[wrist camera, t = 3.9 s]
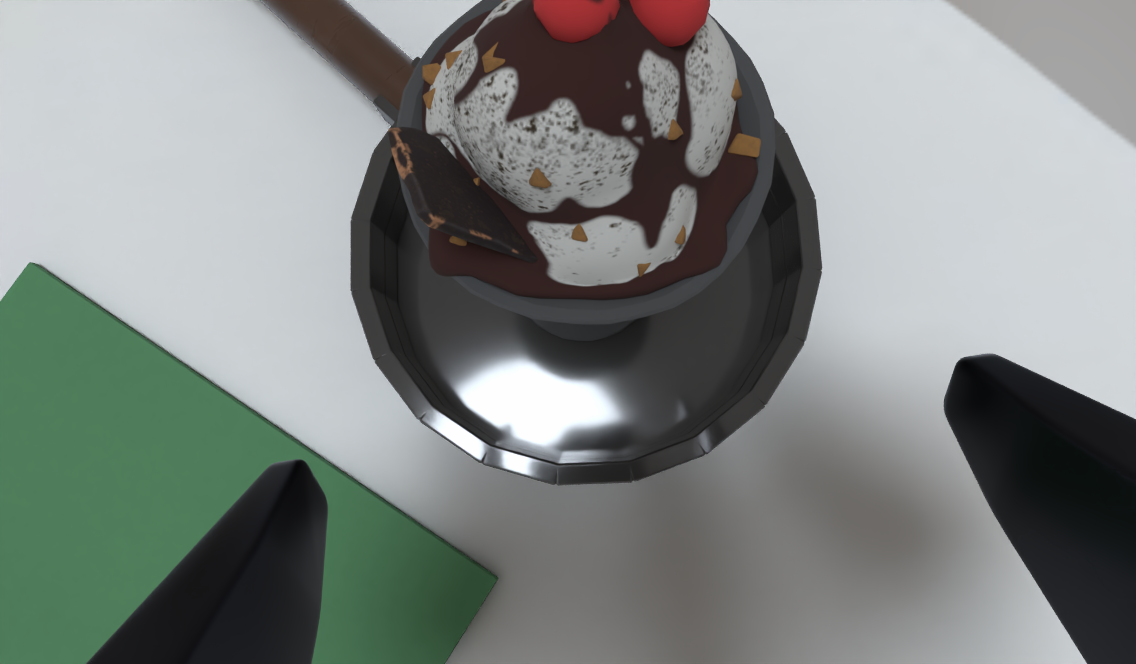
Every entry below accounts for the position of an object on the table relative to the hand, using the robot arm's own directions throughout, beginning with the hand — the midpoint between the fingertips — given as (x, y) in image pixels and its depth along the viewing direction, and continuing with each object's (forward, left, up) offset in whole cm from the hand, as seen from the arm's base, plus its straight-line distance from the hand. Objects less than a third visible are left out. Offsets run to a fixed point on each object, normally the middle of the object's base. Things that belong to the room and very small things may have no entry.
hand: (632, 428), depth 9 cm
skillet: (0, -5, -12) cm, 13 cm away
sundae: (0, -5, -12) cm, 13 cm away
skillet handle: (+9, -14, -11) cm, 19 cm away
